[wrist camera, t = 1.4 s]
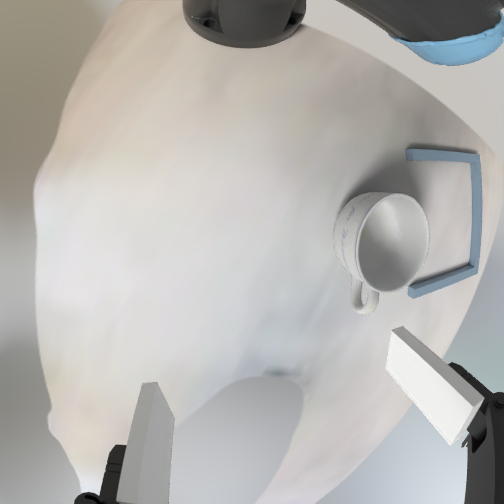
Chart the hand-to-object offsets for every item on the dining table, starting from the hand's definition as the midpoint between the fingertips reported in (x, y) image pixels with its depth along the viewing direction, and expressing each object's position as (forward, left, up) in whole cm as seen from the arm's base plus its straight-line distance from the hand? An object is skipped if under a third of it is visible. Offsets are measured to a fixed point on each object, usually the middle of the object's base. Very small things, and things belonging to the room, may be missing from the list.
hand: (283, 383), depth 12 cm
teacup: (0, +15, -20) cm, 25 cm away
